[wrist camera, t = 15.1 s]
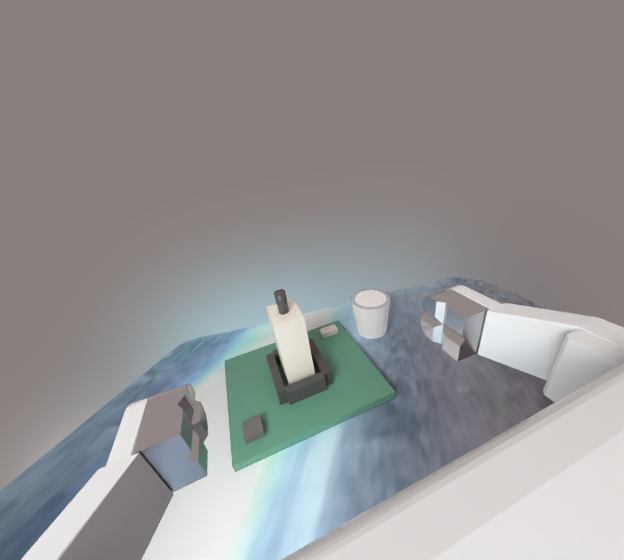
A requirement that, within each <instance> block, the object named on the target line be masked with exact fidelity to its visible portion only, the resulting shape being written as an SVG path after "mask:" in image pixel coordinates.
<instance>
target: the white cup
mask: <svg viewBox="0 0 624 560" xmlns="http://www.w3.org/2000/svg"><path fill="white" fill-rule="evenodd" d="M390 300H391V299H390V296H389V295H388V294H387V293H386V292H385V291H382V290H379V289H363V290H360V291H358V292H356V293H355V294H353V296H352V297H351V302H352V308H353V313H354V318H355V323H356V329H357V332H358V333H359V335H360V336H362V337H364V338H368V339H377V338H380V337H382V336H383V335H385V334H386V331H387V325H388V316H389V308H390Z"/></svg>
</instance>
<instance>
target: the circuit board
mask: <svg viewBox="0 0 624 560" xmlns="http://www.w3.org/2000/svg"><path fill="white" fill-rule="evenodd" d="M307 334H308V339H309V345H310V350H311V355H312V360H313V366H314V371H315V374H314V375H311V376H309V377H306V378H304V379H301V380H299V381H296V382H294V383H291V384H289V385H288V382H287V379H286V376H285V374H284V371H283V368H282V364H281V361H280V357H279V353H278V350H277V346H276V343H274V344H271V345H268V346H265V347H263V348H260V349H257V350H254V351H251V352H248V353H246V354H243V355H240V356H237V357H234V358H232V359H229V360H226V361H225V372H226V385H227V399H228V412H229V425H230V439H231V452H232V465H233V468H234V470H235V472H236V471H238V470H240V469H242V468H245V467H247V466H249V465H251V464H253V463H255V462H258V461H260V460H262V459H264V458H266V457H268V456H270V455H273V454H275V453H277V452H279V451H281V450H283V449H285V448H288V447H290V446H292V445H294V444H296V443H298V442H301V441H303V440H305V439H307V438H309V437H311V436H313V435H316V434H318V433H320V432H322V431H324V430H326V429H329V428H331V427H333V426H335V425H337V424H339V423H341V422H344V421H346V420H348V419H350V418H352V417H354V416H356V415H359V414H361V413H363V412H365V411H367V410H369V409H372V408H374V407H376V406H378V405H380V404H382V403H384V402H387V401H389V400H391V399H393V398H395V391H394V389H393V388H392V387H391V386H390V384H389V383H388V382H387V381H386V379H385V378H384V377H383V376H382V375H381V373H380V372H379V371H378V370H377V368H376V367H375V366H374V365H373V363H372V362H371V361H370V360H369V358H368V357H367V356H366V355H365V354H364V352H363V351H362V350H361V349H360V347H359V346H358V345H357V344H356V342H355V341H354V340H353V339H352V337H351V336H350V335H349V334H348V332H347V331H346V330H345V329H344V328H343V326H342V325H341V324H340V323H339V321H336V322H333V323H331V324H328V325H325V326H322V327H319V328H316V329H314V330H311V331H308V332H307Z"/></svg>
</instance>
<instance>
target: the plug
mask: <svg viewBox="0 0 624 560" xmlns="http://www.w3.org/2000/svg"><path fill="white" fill-rule="evenodd" d="M274 295H275V298H276V303H277V304H274V305H271V306H267V307H266V309H267V313H268V316H269V320H270V324H271V328H272V331H273V335H274V339H275V342H276V346H277V350H278V353H279V357H280V361H281V364H282V368H283V371H284V374H285V376H286V379H287V382H288V385H289V384H291V383H294V382H296V381H299V380H301V379H304V378H306V377H309V376H311V375H314V374H315V371H314V366H313V360H312V355H311V350H310V345H309V339H308V334H307V329H306V324H305V319H304V315H303V314H302V312H301V311H300V309H299V307H298V306H297V304H296V303H295V301H294V299H289V300H287V298H286V294H285V290H282V289H281V290H277V291H275V292H274Z"/></svg>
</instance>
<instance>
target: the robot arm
mask: <svg viewBox="0 0 624 560" xmlns="http://www.w3.org/2000/svg"><path fill="white" fill-rule="evenodd" d="M422 309H423V310H424V311H425V312H424V313H423V315H422V317H421V327H422V330H423V332H424V333H425V335H426V336H427V337H428V338H429V339H430V340H432V341H433V342H437V343H440V344H441V347H442V349H443V350H444V351H445V352H446V353H448V354H449V355H450V356H451V357H453V358H454V359H455V360H456V361H460V360H462V359H465V358H467V357H469V356H472V355H474V354H477V353H478V355H481V356H483V357H486V358H488V359H491V360H494V361H496V362H499V363H502V364H504V365H507V366H510V367H512V368H515V369H518V370H520V371H523V372H525V373H528V374H531V375H533V376H536V377H539V378H541V379H544V380H547V382H546V384H545V387H544V389H543V392H544V395H545V396H546V397H548V398H549V399H551V400H552V401H553V402H555V403H553V404H551V405H550V406H548V407H546V408H544V409H543V410H541V411H539V412H537V413H536V414H534V415H532V416H530V417H529V418H527V419H525V420H523V421H522V422H520V423H518V424H517V425H515V426H513V427H511V428H510V429H508V430H506V431H504V432H503V433H501V434H499V435H497V436H496V437H494V438H492V439H490V440H489V441H487V442H485V443H483V444H482V445H480V446H478V447H476V448H475V449H473V450H471V451H469V452H468V453H466V454H464V455H463V456H461V457H459V458H457V459H456V460H454V461H452V462H450V463H449V464H447V465H445V466H443V467H442V468H440V469H438V470H436V471H435V472H433V473H431V474H429V475H428V476H426V477H424V478H422V479H421V480H419V481H417V482H416V483H414V484H412V485H410V486H409V487H407V488H405V489H403V490H402V491H400V492H398V493H396V494H395V495H393V496H391V497H389V498H388V499H386V500H384V501H382V502H381V503H379V504H377V505H375V506H374V507H372V508H370V509H368V510H367V511H365V512H363V513H362V514H360V515H358V516H356V517H355V518H353V519H351V520H349V521H348V522H346V523H344V524H342V525H341V526H339V527H337V528H335V529H334V530H332V531H330V532H328V533H327V534H325V535H323V536H322V537H320V538H318V539H316V540H315V541H313V542H311V543H309V544H308V545H306V546H304V547H302V548H301V549H299V550H297V551H295V552H294V553H292V554H290V555H288V556H287V557H285V558H283V559H282V560H624V328H623V327H621V326H618V325H616V324H613V323H611V322H608V321H606V320H603V319H601V318H598V317H590V316H585V315H579V314H572V313H566V312H559V311H553V310H547V309H541V308H534V307H528V306H522V305H516V304H509V303H504V304H501V303H499V302H497V301H495V300H493V299H490V298H488V297H486V296H484V295H482V294H480V293H478V292H476V291H474V290H472V289H470V288H468V287H465V286H462V285H457V286H454V287H452V288H449V289H447V290H444V291H442V292H439V293H436V294H434V295H431V296H428V297H426V298H424V300H423V301H422ZM207 435H208V425H207V419H206V414H205V411H204V408H203V406H202V404H201V402H198V401H195V391H194V390H193V388H192V386H191V385H190V384H186V385H183V386H180V387H177V388H174V389H171V390H168V391H165V392H163V393H160V394H157V395H154V396H151V397H149V398H146V399H143V400H140V401H137V402H134V403H131V404H130V405H129V406H128V407H127V408H126V410H125V413H124V415H123V418H122V421H121V424H120V427H119V430H118V433H117V436H116V438H115V441H114V444H113V447H112V450H111V453H110V456H109V458H108V461H107V464H106V466H105V467H102V468H100V469H98V470H97V472H96V473H95V474H94V475H93V476H92V477H91V479H90V480H89V481H88V482H87V483H86V484H85V486H84V487H83V488H82V489H81V490H80V491H79V493H78V494H77V495H76V496H75V497H74V498H73V500H72V501H71V502H70V503H69V504H68V505H67V506H66V508H65V509H64V510H63V511H62V512H61V513H60V515H59V516H58V517H57V518H56V519H55V520H54V522H53V523H52V524H51V525H50V526H49V527H48V529H47V530H46V531H45V532H44V533H43V534H42V536H41V537H40V538H39V539H38V540H37V541H36V542H35V544H34V545H33V546H32V547H31V548H30V549H29V551H28V552H27V553H26V554H25V555H24V556H23V558H22V559H21V560H141V559H142V557H143V555H144V553H145V551H146V549H147V547H148V545H149V543H150V541H151V539H152V537H153V535H154V533H155V531H156V529H157V527H158V525H159V523H160V520H161V518H162V516H163V514H164V512H165V510H166V508H167V506H168V504H169V502H170V500H171V498H172V496H173V493H172V492H174V491H176V490H178V489H180V488H183V487H185V486H187V485H189V484H191V483H193V482H195V481H197V480H199V479H201V478H203V477H205V476H207V449H206V447H205V445H204V444H203V442H204V441H205V439H206V437H207Z"/></svg>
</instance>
